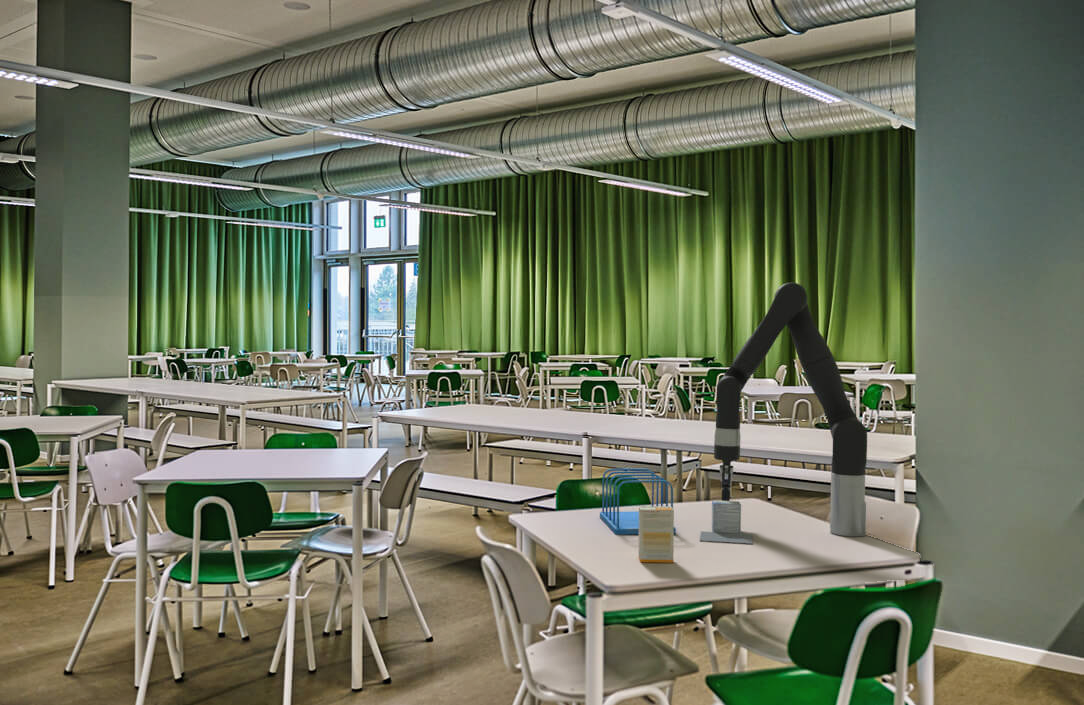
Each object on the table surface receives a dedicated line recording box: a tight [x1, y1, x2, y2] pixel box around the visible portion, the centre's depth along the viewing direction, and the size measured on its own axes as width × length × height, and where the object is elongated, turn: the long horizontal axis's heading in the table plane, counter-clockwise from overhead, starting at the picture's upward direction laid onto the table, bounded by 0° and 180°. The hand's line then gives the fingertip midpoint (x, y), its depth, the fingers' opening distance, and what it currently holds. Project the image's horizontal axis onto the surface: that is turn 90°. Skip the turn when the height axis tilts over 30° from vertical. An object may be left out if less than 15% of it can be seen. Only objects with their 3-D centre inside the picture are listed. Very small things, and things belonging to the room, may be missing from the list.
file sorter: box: [599, 468, 677, 535], centre depth 258 cm, size 25×17×15 cm
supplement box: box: [638, 505, 675, 564], centre depth 214 cm, size 8×5×13 cm, turn 88°
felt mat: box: [699, 530, 754, 545], centre depth 242 cm, size 14×12×1 cm
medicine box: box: [711, 500, 742, 534], centre depth 250 cm, size 8×4×9 cm, turn 84°
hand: (725, 502), depth 259 cm, fingers closed
